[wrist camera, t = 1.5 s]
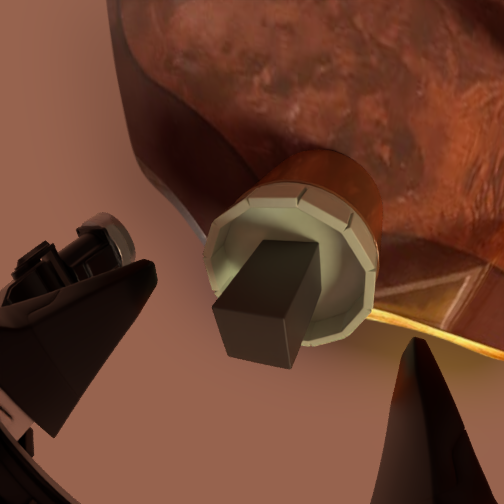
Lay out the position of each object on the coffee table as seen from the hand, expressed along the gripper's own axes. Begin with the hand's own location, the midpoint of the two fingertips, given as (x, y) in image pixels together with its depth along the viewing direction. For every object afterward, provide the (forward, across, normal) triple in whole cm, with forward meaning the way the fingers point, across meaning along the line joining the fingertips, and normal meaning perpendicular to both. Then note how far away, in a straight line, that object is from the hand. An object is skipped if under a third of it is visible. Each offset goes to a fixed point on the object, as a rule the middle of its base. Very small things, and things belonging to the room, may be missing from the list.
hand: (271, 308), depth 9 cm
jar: (+14, +1, +3) cm, 14 cm away
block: (+6, +1, +3) cm, 7 cm away
